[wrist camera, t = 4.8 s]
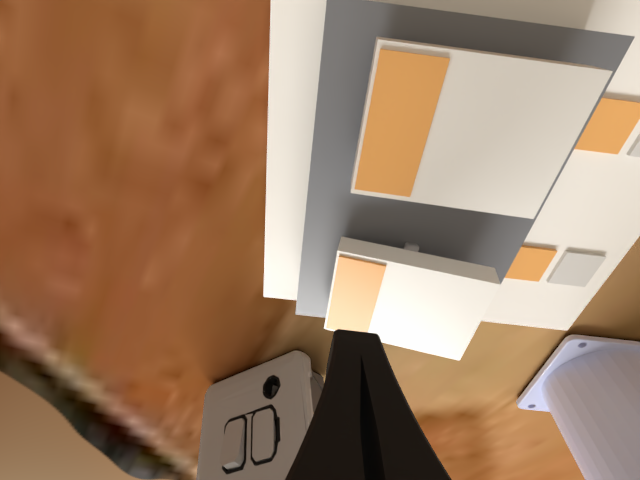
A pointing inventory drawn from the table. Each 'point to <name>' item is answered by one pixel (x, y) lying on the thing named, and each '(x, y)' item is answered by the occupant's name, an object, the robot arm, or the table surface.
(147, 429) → the table surface
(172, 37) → the table surface
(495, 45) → the switch unit
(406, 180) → the rocker near
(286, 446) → the electrical switch
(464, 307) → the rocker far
